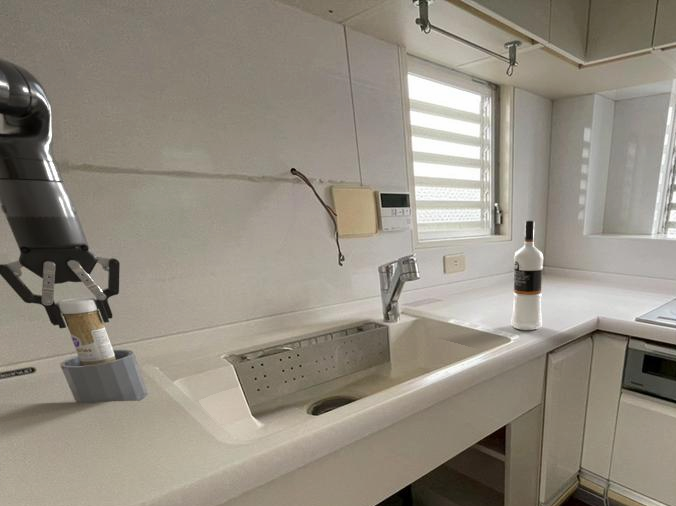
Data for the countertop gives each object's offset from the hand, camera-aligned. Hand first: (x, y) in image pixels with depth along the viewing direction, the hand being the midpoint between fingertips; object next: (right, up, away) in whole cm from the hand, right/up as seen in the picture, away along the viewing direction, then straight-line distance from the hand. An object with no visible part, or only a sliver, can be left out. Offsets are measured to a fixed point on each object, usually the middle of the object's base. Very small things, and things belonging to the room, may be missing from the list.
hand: (84, 323), depth 67 cm
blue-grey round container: (0, -13, +5) cm, 14 cm away
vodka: (+77, +6, +55) cm, 95 cm away
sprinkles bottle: (0, -9, +4) cm, 10 cm away
